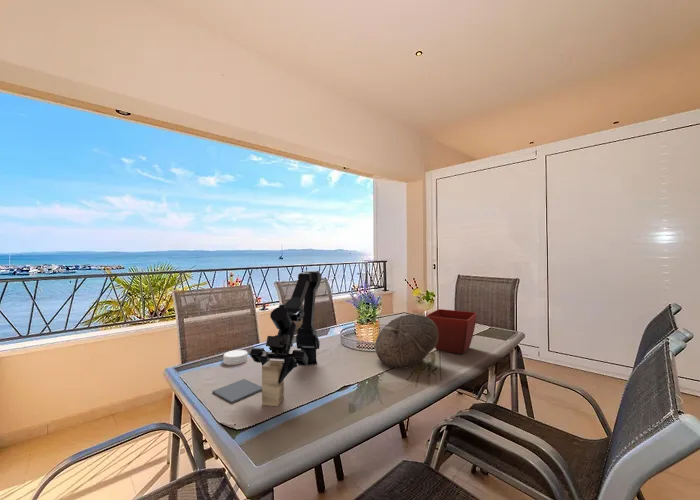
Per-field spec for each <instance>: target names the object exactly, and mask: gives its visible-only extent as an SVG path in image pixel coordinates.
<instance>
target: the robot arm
mask: <svg viewBox="0 0 700 500" xmlns="http://www.w3.org/2000/svg"><path fill="white" fill-rule="evenodd" d="M321 281H322V273H321V272H320V271H319V270H304V271H303V272H300V273H298V275H297V281H296V284H295V287H294V290H293V292H292V295H291V297H290V299H289V300H287V301H286V302H285V304H279V305H278V307H276V308H274V309H273V310H272V311H271V312H270V313H269V314H270V315H269V316H270V319H271V321H272V323H273V324H274V327H276V329H277V330H278V331H277V334H275V335H267V338H266V343H265V347H269V348H268V349H269V351H271V352H269V351H266V350H265V348H263V347H252V348H251V350H250V351H249V354H248V355H249V356H250V358H251V359H252V360H253V361H254V362H255V363H260V364H261V367H262V366H263V365H264V364H265V363H266V362H268V361H269V360H283V361H284V365H283V368H282V371H281V374H280V377H279V381H278V383H279V384H280V383H281V382H282V381H283V380H284V381H285V379H286V377H288V375H289V374H290V372H292V371H293V370H294V368H298V366H302V367H303V366H304V367H305V366H309V365H316V364H318V361H317V350H319V349H320V345H321V344H320V343H321V341H320V340H319V337H318V335H317V334H318V332H317V329H316V327H315V325H314V322H315V321H314V319H315V309H316V307H315V305H316V292H317V290H318V288H319V287H320V286H321ZM301 321H302V324H301V326H299V327H298V328H297V325H296V323H295V322H298V323H299V322H301ZM295 335H296V336H295ZM294 337H295V342H296V344H295V345H296V348H297V349H294V350H292V353H291V349H292V347H293V346H294V343H293V342H294Z"/></svg>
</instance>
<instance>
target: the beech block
mask: <svg viewBox="0 0 700 500" xmlns="http://www.w3.org/2000/svg"><path fill="white" fill-rule="evenodd" d="M283 365H284V360H274V359H270V360H269V361H268V362H266V363H265V364H264V365H263V366H262V365H261V387H262V391H261V402H262V403H261V405H263V406H271V407H278V406H279V405H280V403H282V401H284V399H285V385H284V384H285V379H284V380H283V381H282V382H281V383H280V384H279V383H278V381H279V377H280V374H281V371H282V368H283Z"/></svg>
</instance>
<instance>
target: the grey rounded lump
mask: <svg viewBox="0 0 700 500" xmlns="http://www.w3.org/2000/svg"><path fill="white" fill-rule="evenodd" d="M438 338H439V335H438V329H437V326H436V324H435V323H434V322H433V320H431V319H430V318H428V317H427V315H426V316H425V315H420V314H405V315H400V316H397V317H395V318H394V319H391V320H390V322H388V323H387V324H385V325H384V326H383V328H382V329H381V330H380V332H379V333H378V336H377V337H376V340H375V353H376V354H377V355H376V356H377V358H378V360H380V362H381V363H383V364H384V365H385V366H387V367H389V368H392V369H407V368H411V367H414V366H416V365H417V364H419V363H420V362H422V361H423V360H424V359H425V358H426V356H427V355H428V354H429V353H431V352H432V350H434V349H436V348H435V346H436V345H437V343H438Z"/></svg>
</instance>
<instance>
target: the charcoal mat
mask: <svg viewBox="0 0 700 500" xmlns="http://www.w3.org/2000/svg"><path fill="white" fill-rule="evenodd" d="M259 392H262V385H259V384H256V383H254V382H253V381H250V380H247V379H246V378H243V379H240V380H237V381H234V382H232V383H229V384H227V385H224V386H221V387H219V388H216V389H214V390H212V393H213V394H214V395H216V396H218V397H219V398H221V399H222V400H225V401H226V402H229V404H230V403H231V404H234V403H236V402H238V401H241V400H244V399H245V398H248V397H250V396H253V395H255V394H257V393H259Z"/></svg>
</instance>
